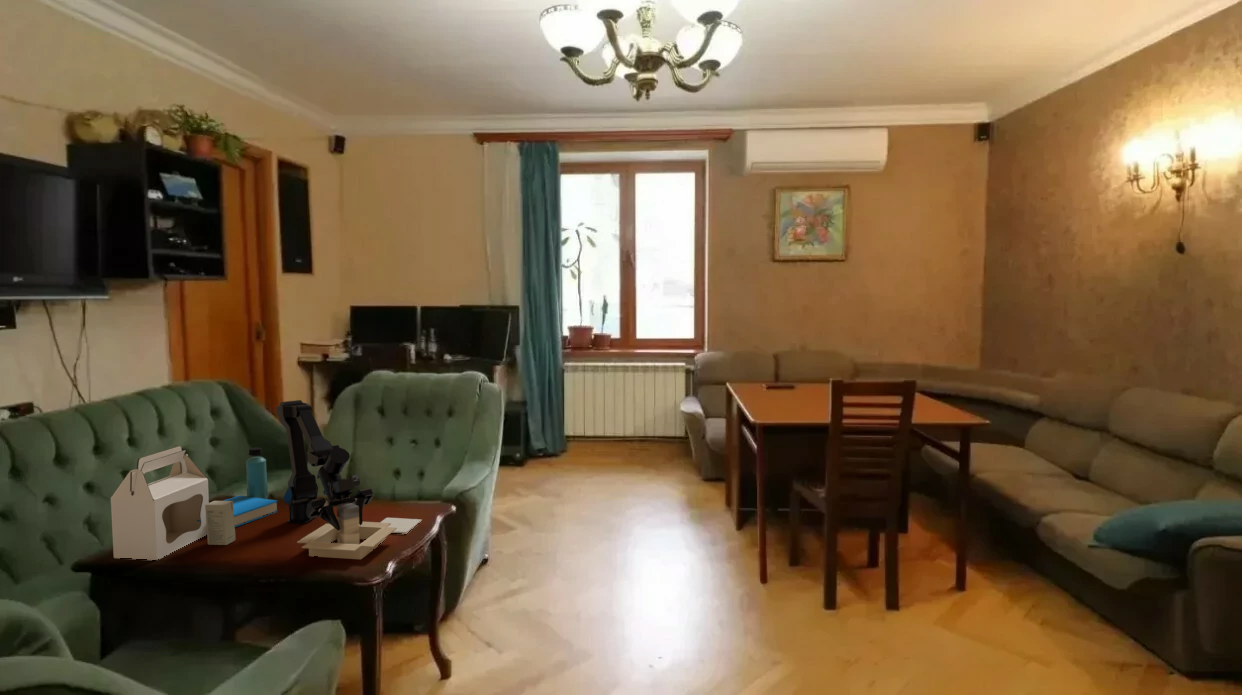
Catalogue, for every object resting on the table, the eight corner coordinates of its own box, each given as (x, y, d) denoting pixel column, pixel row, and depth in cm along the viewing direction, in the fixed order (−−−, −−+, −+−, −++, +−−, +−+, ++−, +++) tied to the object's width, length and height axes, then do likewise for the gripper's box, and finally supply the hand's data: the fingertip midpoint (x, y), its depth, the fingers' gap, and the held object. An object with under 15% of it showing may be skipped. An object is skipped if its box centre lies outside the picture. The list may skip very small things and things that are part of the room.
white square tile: (369, 532, 221) (369, 529, 221) (386, 519, 233) (386, 517, 233) (406, 534, 219) (406, 532, 219) (421, 521, 231) (421, 519, 231)
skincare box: (236, 540, 212) (234, 500, 211) (226, 545, 208) (225, 505, 207) (215, 539, 213) (214, 499, 212) (206, 544, 209) (204, 504, 208)
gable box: (155, 561, 196) (151, 462, 193) (112, 558, 197) (107, 460, 195) (211, 533, 218) (207, 444, 215) (171, 531, 219) (167, 442, 217)
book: (277, 500, 239) (214, 521, 215) (277, 513, 239) (214, 535, 215) (238, 495, 244) (172, 514, 221) (238, 507, 245) (172, 528, 221)
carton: (290, 560, 198) (289, 546, 198) (332, 532, 220) (332, 519, 220) (366, 565, 195) (366, 551, 195) (401, 536, 218) (401, 523, 217)
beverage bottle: (270, 504, 247) (269, 448, 245) (250, 508, 242) (248, 451, 240) (264, 500, 251) (262, 445, 249) (244, 504, 247) (242, 447, 245)
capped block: (337, 547, 208) (336, 506, 207) (352, 543, 211) (351, 502, 210) (344, 551, 205) (343, 509, 204) (359, 547, 208) (358, 506, 207)
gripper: (309, 473, 202) (327, 520, 195) (370, 461, 215) (389, 505, 209) (298, 494, 208) (315, 540, 201) (359, 482, 221) (376, 525, 215)
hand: (350, 527), depth 206 cm, fingers open, 6 cm apart
